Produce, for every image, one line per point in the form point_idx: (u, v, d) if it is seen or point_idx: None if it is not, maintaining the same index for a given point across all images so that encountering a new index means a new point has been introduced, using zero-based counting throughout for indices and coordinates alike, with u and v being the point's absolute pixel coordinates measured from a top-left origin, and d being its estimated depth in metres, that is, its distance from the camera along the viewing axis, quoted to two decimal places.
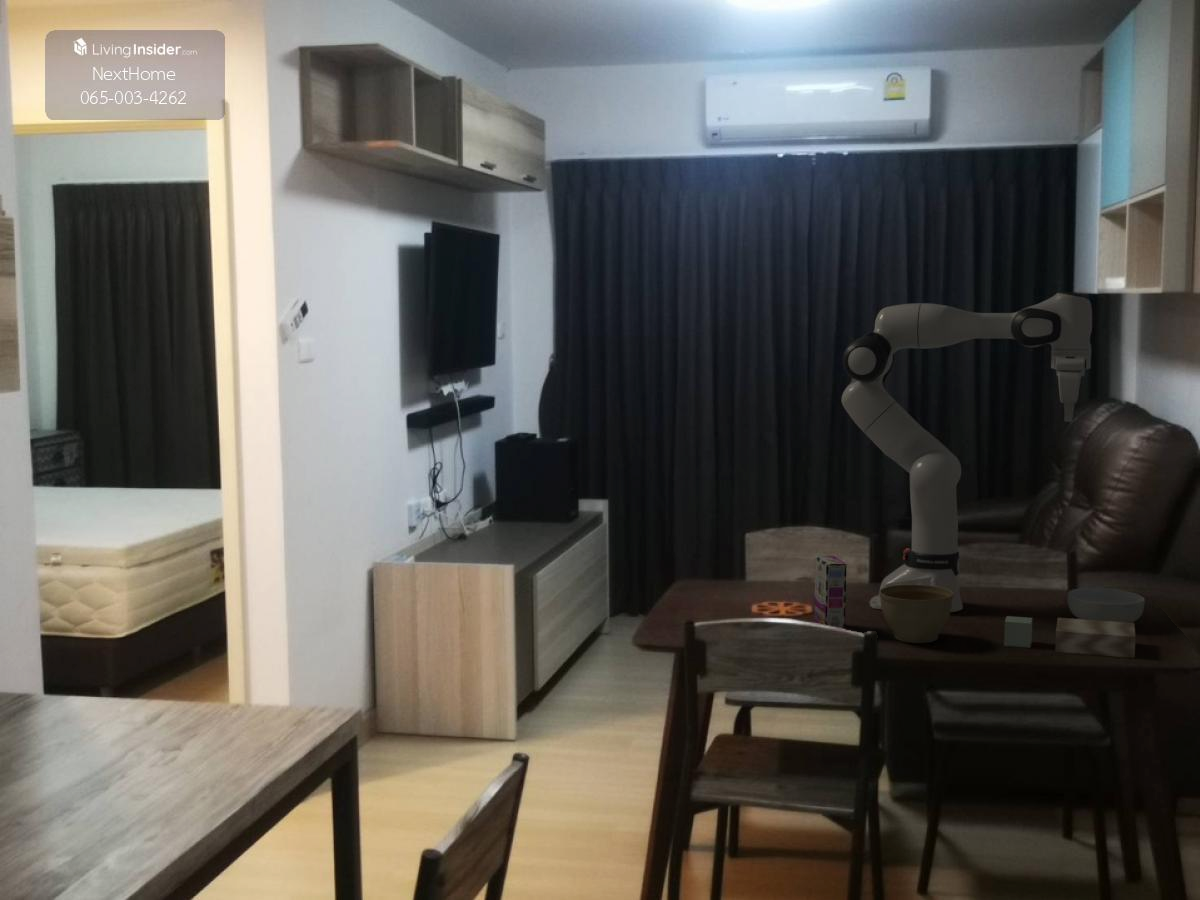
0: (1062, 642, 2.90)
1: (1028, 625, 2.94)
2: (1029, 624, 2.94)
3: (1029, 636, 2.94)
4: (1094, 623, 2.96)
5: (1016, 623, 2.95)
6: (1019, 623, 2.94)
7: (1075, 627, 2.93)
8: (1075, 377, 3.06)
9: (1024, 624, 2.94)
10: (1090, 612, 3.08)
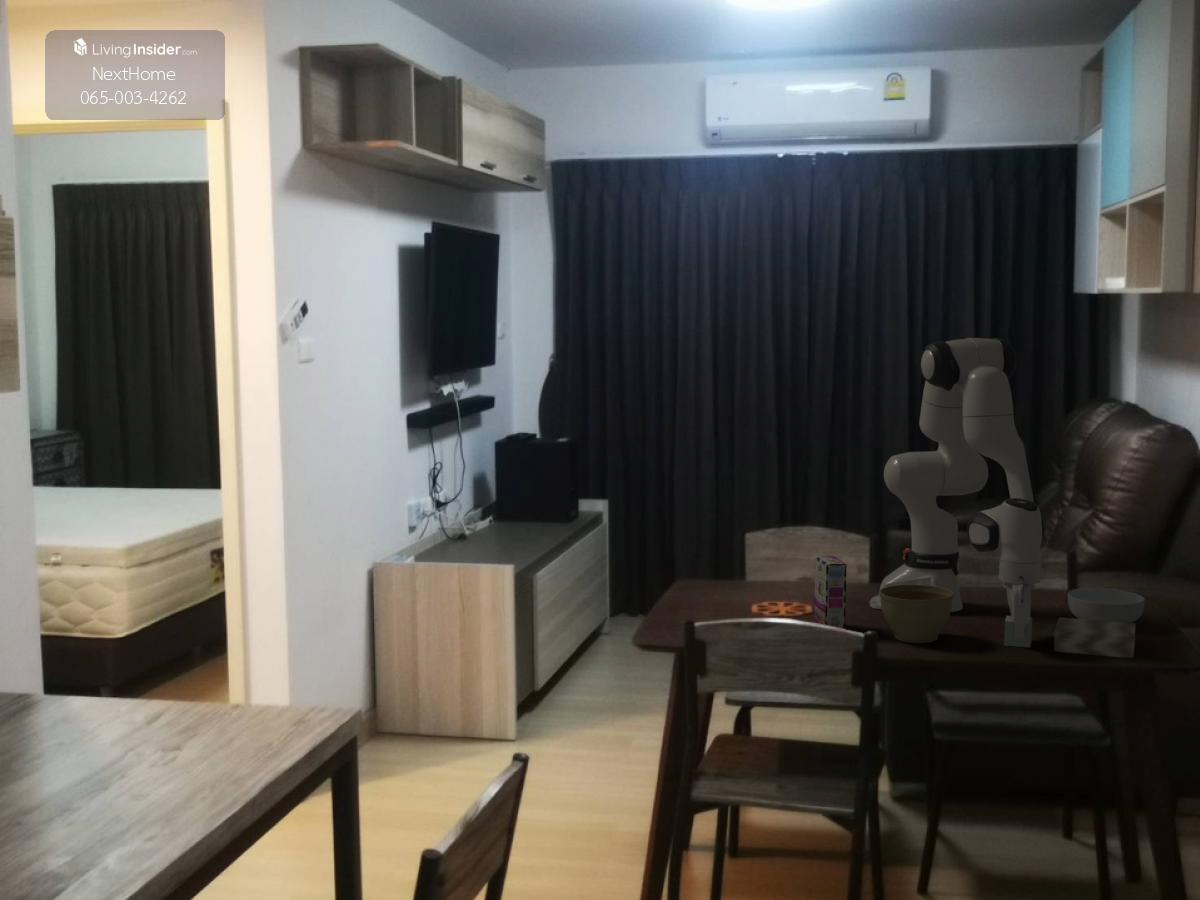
0: (1060, 642, 2.90)
1: (1028, 625, 2.94)
2: (1029, 624, 2.94)
3: (1029, 636, 2.94)
4: (1095, 623, 2.96)
5: None
6: None
7: (1075, 627, 2.93)
8: None
9: None
10: (1090, 612, 3.08)
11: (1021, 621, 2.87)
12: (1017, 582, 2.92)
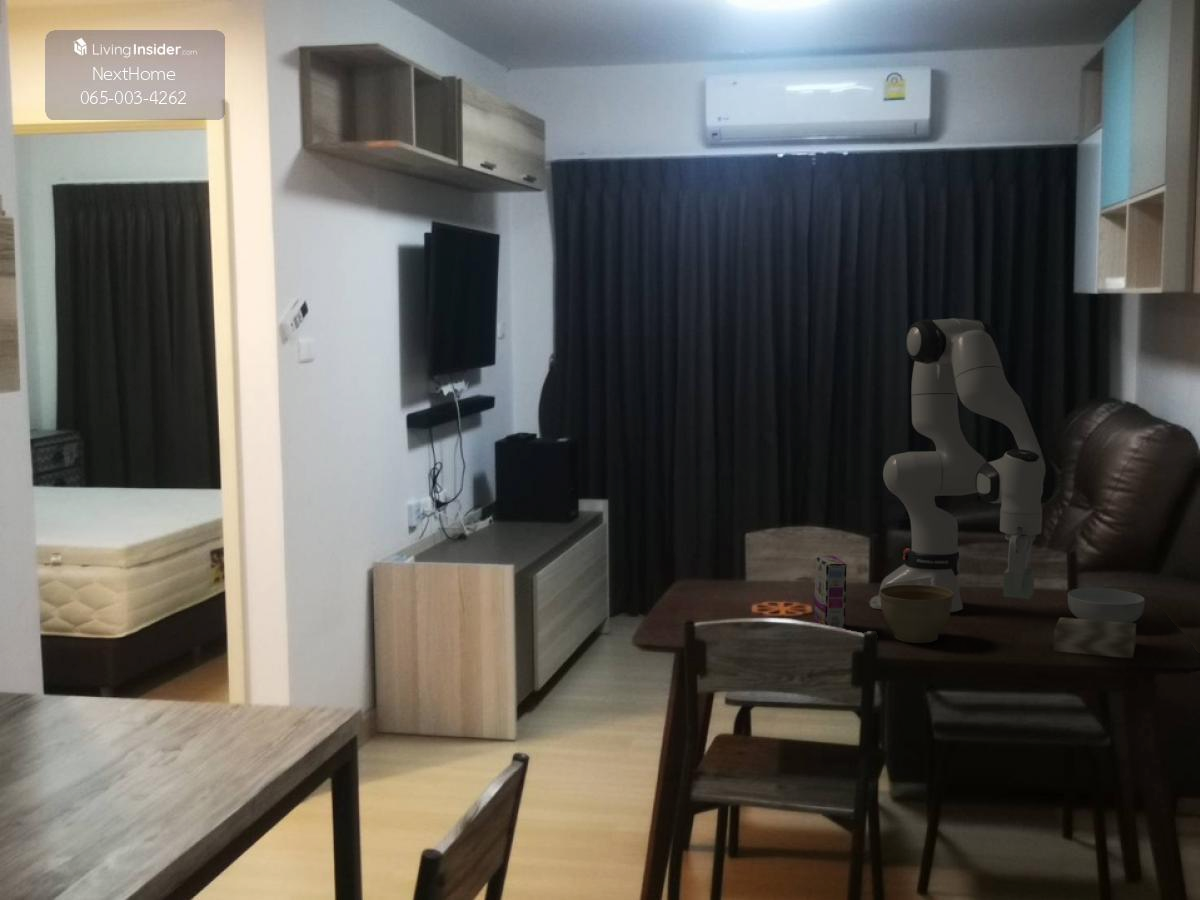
0: (1060, 642, 2.90)
1: (1027, 576, 2.93)
2: (1028, 575, 2.93)
3: (1028, 587, 2.93)
4: (1095, 623, 2.96)
5: None
6: None
7: (1074, 627, 2.93)
8: None
9: (1023, 575, 2.93)
10: (1090, 612, 3.08)
11: (1016, 571, 2.87)
12: (1015, 533, 2.91)
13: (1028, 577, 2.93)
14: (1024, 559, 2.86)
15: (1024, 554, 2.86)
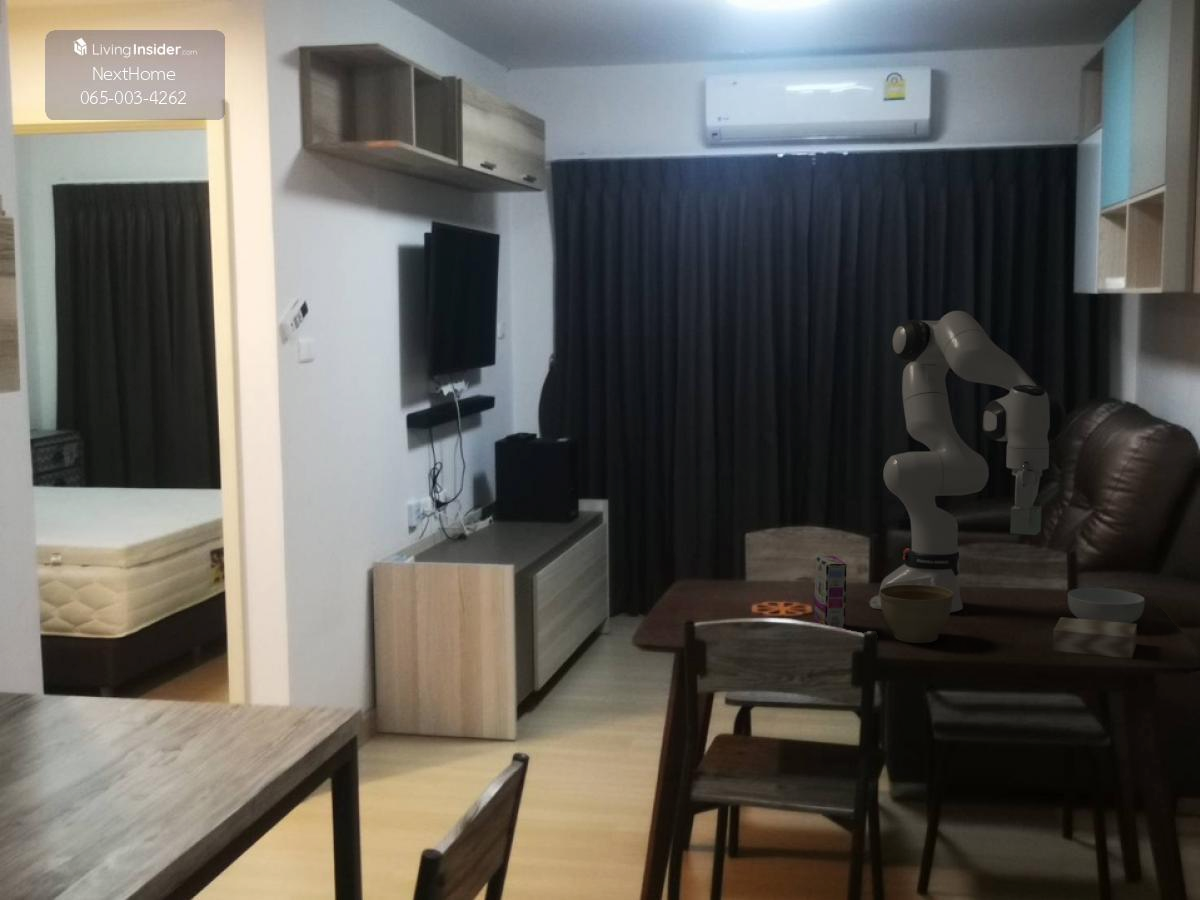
0: (1059, 641, 2.91)
1: (1034, 512, 2.91)
2: (1035, 510, 2.90)
3: (1035, 523, 2.91)
4: (1095, 623, 2.96)
5: None
6: None
7: (1074, 627, 2.93)
8: None
9: (1030, 511, 2.91)
10: (1090, 612, 3.08)
11: (1023, 505, 2.85)
12: (1022, 468, 2.89)
13: (1035, 513, 2.90)
14: (1031, 492, 2.84)
15: (1031, 487, 2.84)
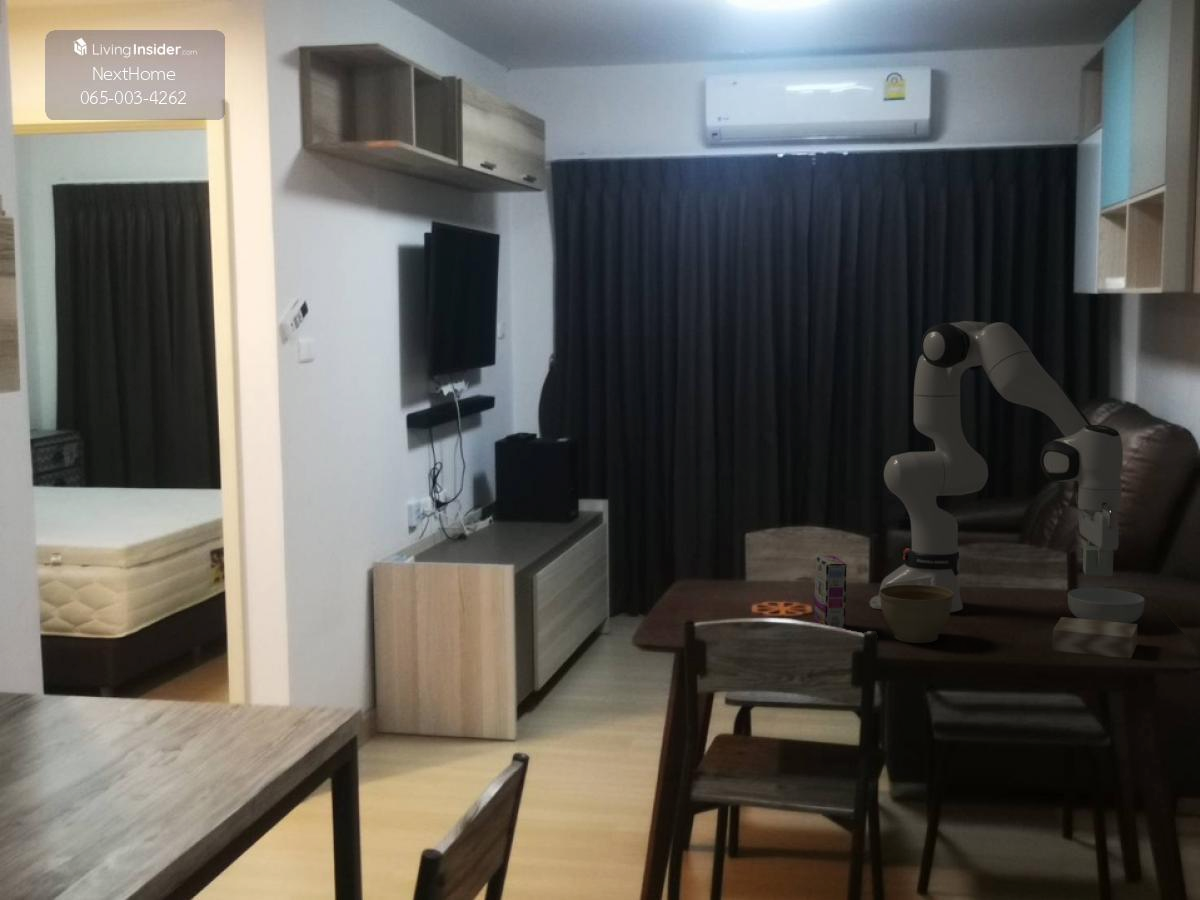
0: (1058, 641, 2.91)
1: (1110, 552, 2.88)
2: (1111, 551, 2.88)
3: (1111, 564, 2.88)
4: (1096, 623, 2.96)
5: None
6: None
7: (1074, 626, 2.93)
8: None
9: None
10: (1090, 612, 3.08)
11: (1109, 547, 2.81)
12: (1101, 509, 2.86)
13: (1112, 553, 2.88)
14: (1117, 534, 2.81)
15: (1117, 529, 2.81)
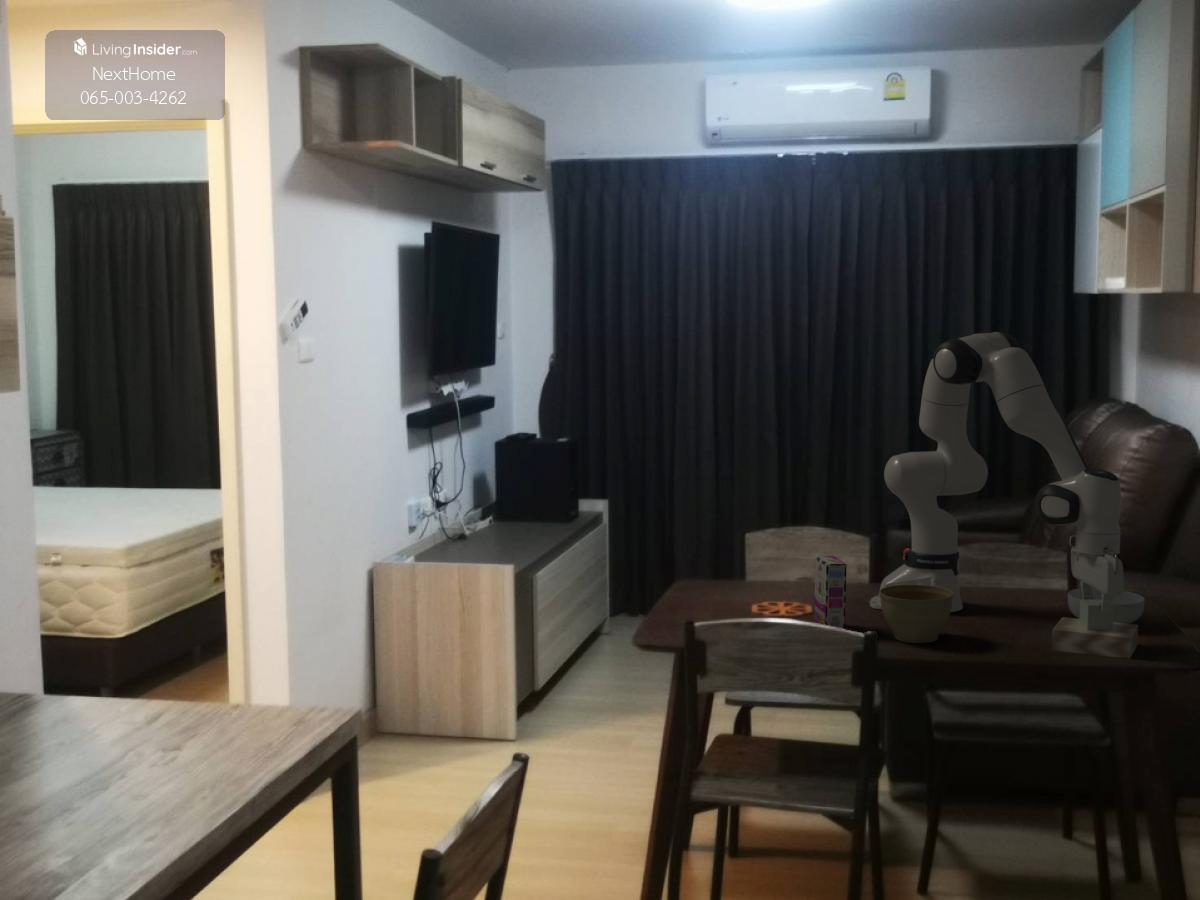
0: (1058, 641, 2.91)
1: (1111, 607, 2.90)
2: (1112, 606, 2.90)
3: (1112, 618, 2.90)
4: None
5: (1099, 606, 2.90)
6: None
7: (1074, 627, 2.94)
8: None
9: None
10: None
11: (1115, 593, 2.82)
12: (1102, 553, 2.87)
13: (1112, 608, 2.90)
14: (1122, 580, 2.82)
15: (1122, 574, 2.82)
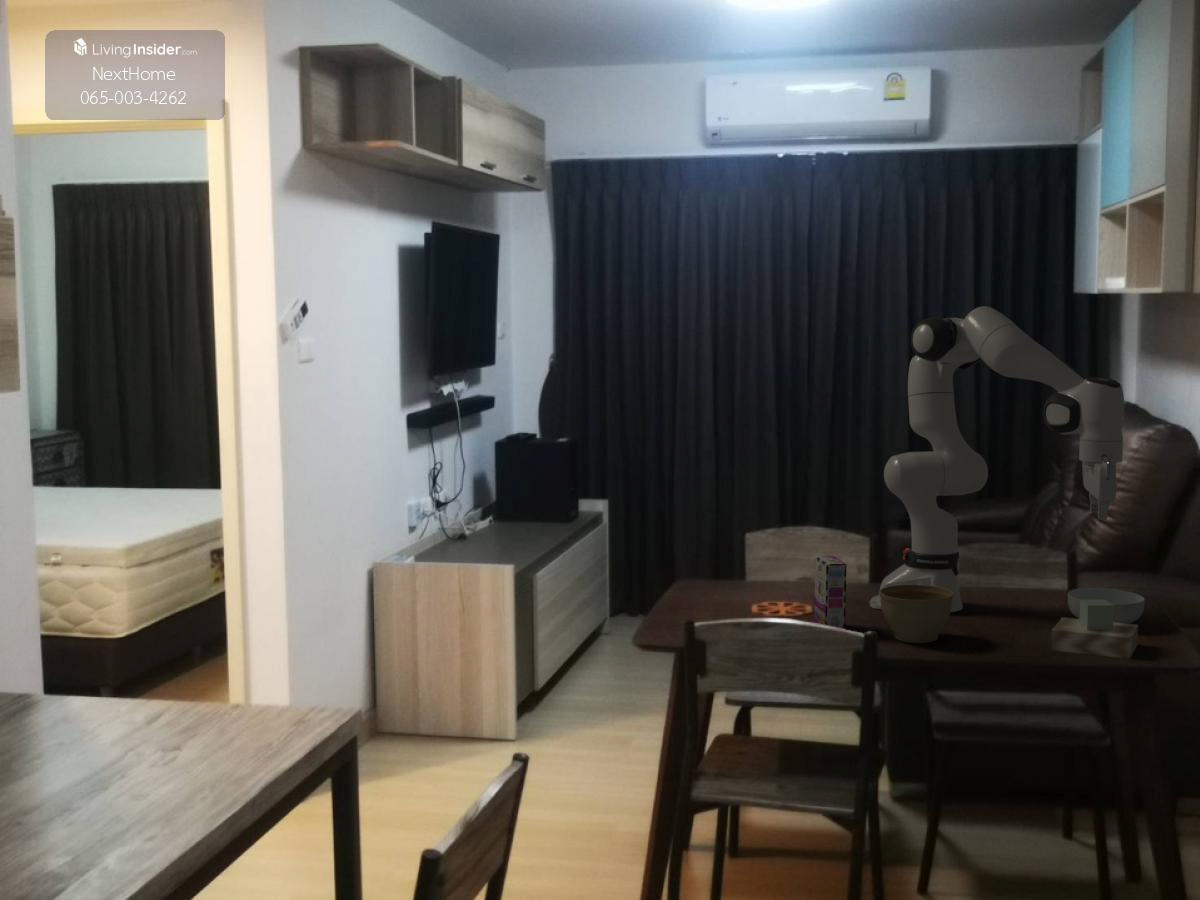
0: (1057, 641, 2.91)
1: (1111, 607, 2.90)
2: (1112, 606, 2.90)
3: (1112, 618, 2.90)
4: None
5: (1099, 606, 2.90)
6: (1102, 606, 2.90)
7: (1074, 627, 2.94)
8: None
9: (1107, 606, 2.90)
10: None
11: (1107, 499, 2.81)
12: (1100, 461, 2.85)
13: (1112, 608, 2.90)
14: (1115, 486, 2.80)
15: (1115, 481, 2.80)
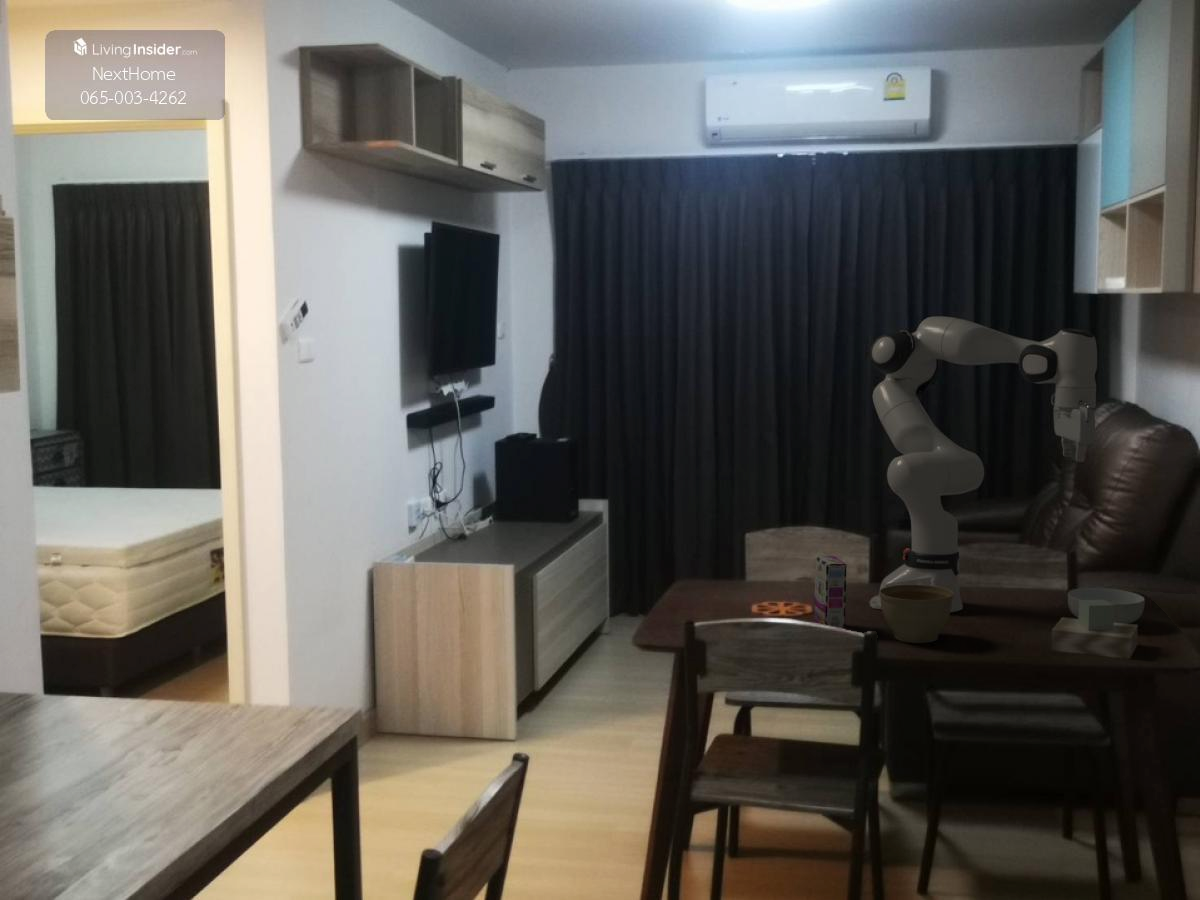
0: (1057, 641, 2.91)
1: (1111, 607, 2.90)
2: (1112, 606, 2.90)
3: (1112, 618, 2.90)
4: None
5: (1100, 606, 2.90)
6: (1103, 606, 2.90)
7: (1074, 627, 2.93)
8: None
9: (1108, 606, 2.90)
10: None
11: (1087, 440, 3.00)
12: (1077, 406, 3.05)
13: (1112, 608, 2.90)
14: (1094, 428, 3.00)
15: (1094, 423, 3.00)
